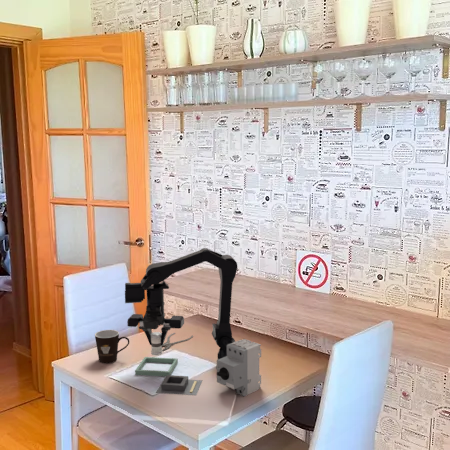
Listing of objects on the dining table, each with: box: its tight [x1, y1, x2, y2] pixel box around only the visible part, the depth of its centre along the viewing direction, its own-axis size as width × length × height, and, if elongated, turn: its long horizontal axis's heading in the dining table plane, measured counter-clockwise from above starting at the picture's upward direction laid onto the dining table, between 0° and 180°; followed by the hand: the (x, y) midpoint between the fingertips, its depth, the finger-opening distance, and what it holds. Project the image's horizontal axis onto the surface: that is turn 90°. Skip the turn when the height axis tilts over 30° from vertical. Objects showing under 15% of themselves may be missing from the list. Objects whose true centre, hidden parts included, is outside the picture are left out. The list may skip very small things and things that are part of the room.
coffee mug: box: [94, 329, 130, 364], centre depth 209 cm, size 12×9×10 cm
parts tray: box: [134, 356, 179, 377], centre depth 200 cm, size 12×12×2 cm
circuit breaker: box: [215, 338, 262, 397], centre depth 183 cm, size 8×14×15 cm, turn 134°
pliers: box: [162, 332, 194, 352], centre depth 227 cm, size 10×1×20 cm
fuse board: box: [155, 374, 203, 396], centre depth 186 cm, size 13×11×3 cm
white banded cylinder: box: [150, 331, 163, 356], centre depth 198 cm, size 4×4×7 cm
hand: (156, 344), depth 199 cm, fingers closed on white banded cylinder, 4 cm apart
